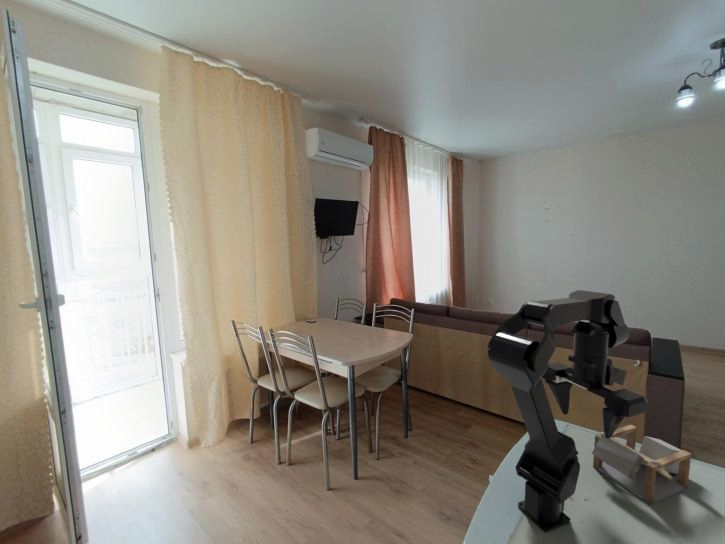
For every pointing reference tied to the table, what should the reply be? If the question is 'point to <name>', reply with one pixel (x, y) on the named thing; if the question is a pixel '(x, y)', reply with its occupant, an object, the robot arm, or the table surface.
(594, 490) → the table surface
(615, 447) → the trapdoor
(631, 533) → the table surface
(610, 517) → the table surface
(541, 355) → the robot arm
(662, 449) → the light grey block
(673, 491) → the mat
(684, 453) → the frame
